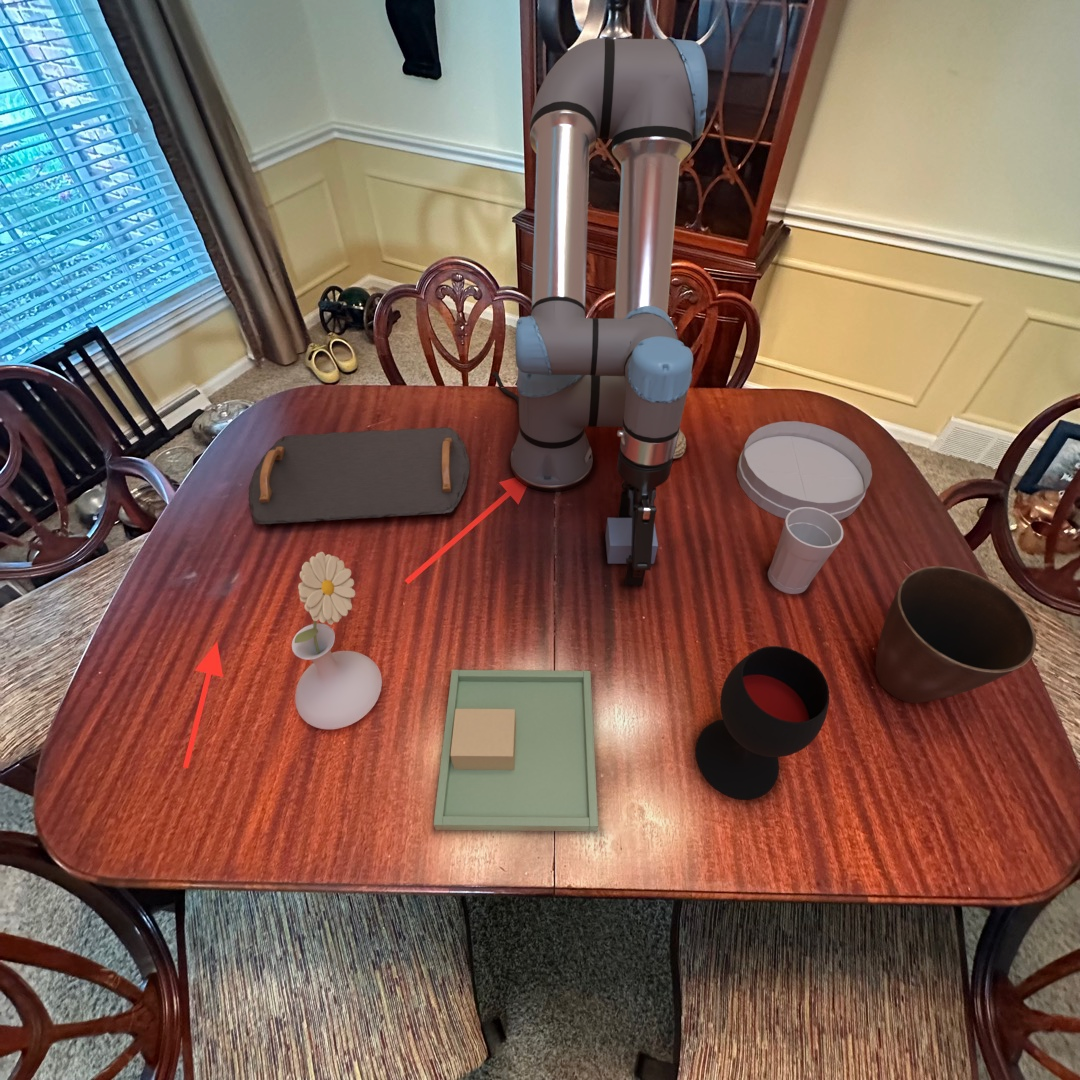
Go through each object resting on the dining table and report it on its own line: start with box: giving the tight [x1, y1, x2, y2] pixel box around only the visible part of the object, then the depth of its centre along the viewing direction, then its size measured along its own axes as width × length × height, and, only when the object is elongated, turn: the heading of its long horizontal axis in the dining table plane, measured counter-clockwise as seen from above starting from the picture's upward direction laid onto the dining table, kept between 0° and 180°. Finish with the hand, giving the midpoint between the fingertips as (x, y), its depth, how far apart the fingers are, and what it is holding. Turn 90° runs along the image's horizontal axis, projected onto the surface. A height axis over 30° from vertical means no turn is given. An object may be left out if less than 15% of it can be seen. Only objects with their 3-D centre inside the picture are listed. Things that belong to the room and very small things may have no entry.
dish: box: [736, 420, 873, 522], centre depth 108 cm, size 22×22×5 cm
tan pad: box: [450, 709, 516, 770], centre depth 75 cm, size 8×6×4 cm
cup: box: [767, 507, 844, 595], centre depth 91 cm, size 8×8×12 cm
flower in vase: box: [291, 551, 383, 730], centre depth 73 cm, size 13×11×25 cm
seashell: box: [673, 429, 687, 460], centre depth 114 cm, size 8×6×10 cm
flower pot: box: [875, 565, 1037, 704], centre depth 77 cm, size 15×15×16 cm
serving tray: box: [248, 426, 471, 528], centre depth 107 cm, size 39×23×6 cm, turn 95°
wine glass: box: [695, 645, 830, 801], centre depth 69 cm, size 10×10×20 cm
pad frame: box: [433, 669, 599, 832], centre depth 76 cm, size 19×20×2 cm
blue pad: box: [604, 517, 659, 565], centre depth 97 cm, size 8×6×4 cm
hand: (629, 551), depth 99 cm, fingers open, 13 cm apart
